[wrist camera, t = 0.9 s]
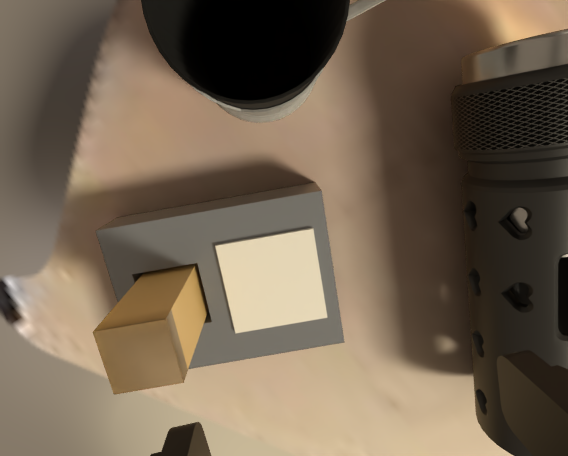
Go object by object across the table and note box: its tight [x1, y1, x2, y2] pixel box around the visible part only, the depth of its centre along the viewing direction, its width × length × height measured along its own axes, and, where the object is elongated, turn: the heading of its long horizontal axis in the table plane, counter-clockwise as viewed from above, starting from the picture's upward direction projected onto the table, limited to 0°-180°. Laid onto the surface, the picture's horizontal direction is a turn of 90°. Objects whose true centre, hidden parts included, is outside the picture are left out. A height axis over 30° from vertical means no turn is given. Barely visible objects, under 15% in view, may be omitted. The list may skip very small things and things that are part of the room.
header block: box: [96, 182, 344, 369], centre depth 30 cm, size 12×16×4 cm
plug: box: [93, 263, 209, 394], centre depth 27 cm, size 4×4×11 cm
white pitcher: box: [141, 0, 385, 123], centre depth 21 cm, size 9×14×15 cm, turn 110°
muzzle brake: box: [451, 29, 568, 456], centre depth 27 cm, size 10×28×10 cm, turn 10°
